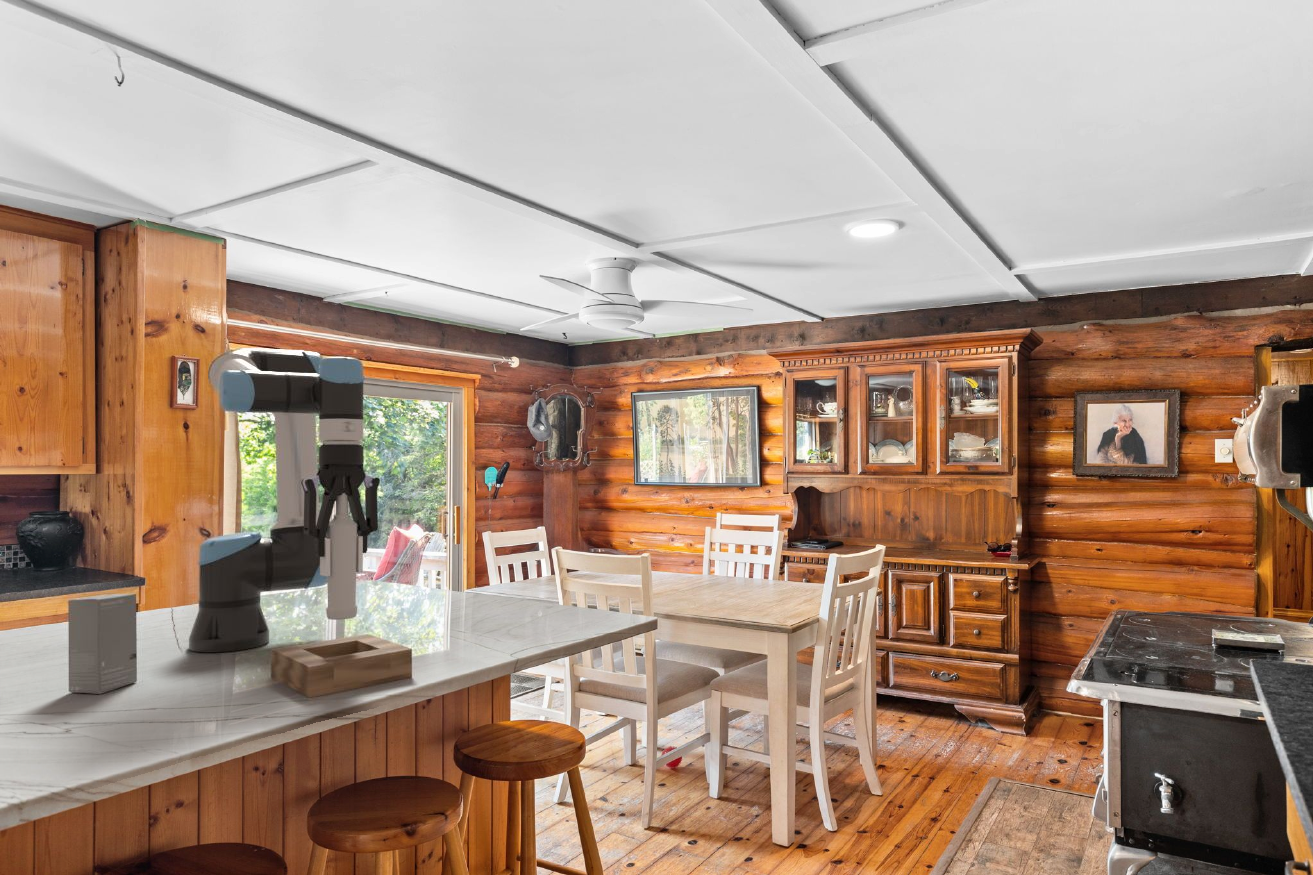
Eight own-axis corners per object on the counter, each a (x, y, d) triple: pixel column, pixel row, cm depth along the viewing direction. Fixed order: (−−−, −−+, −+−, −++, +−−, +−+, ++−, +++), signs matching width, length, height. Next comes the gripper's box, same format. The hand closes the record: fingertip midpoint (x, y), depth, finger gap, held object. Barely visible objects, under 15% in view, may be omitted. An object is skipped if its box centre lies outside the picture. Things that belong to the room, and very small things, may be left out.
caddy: (270, 677, 148) (271, 649, 149) (368, 659, 161) (368, 633, 161) (309, 697, 135) (309, 666, 135) (412, 677, 148) (411, 648, 148)
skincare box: (99, 695, 138) (100, 599, 138) (63, 693, 139) (64, 598, 140) (140, 681, 146) (141, 591, 147) (106, 680, 148) (106, 590, 148)
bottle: (363, 615, 149) (363, 476, 150) (341, 620, 145) (341, 477, 145) (342, 613, 151) (341, 476, 152) (319, 618, 147) (319, 477, 148)
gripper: (297, 442, 140) (297, 581, 139) (398, 443, 153) (399, 570, 152) (281, 443, 146) (281, 577, 145) (380, 444, 158) (380, 567, 157)
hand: (341, 573), depth 148 cm, fingers closed on bottle, 5 cm apart
